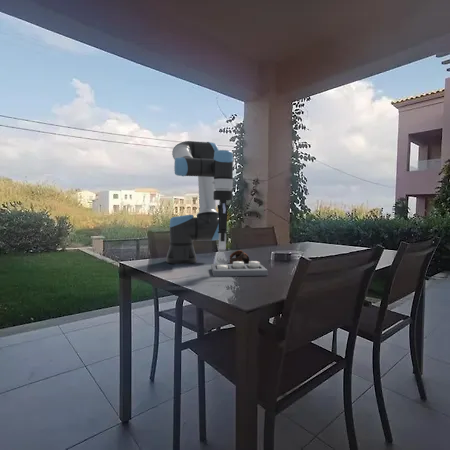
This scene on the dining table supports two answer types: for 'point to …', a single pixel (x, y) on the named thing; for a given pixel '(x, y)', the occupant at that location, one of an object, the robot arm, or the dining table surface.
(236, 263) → the button mid
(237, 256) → the brown looped knot
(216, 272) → the board
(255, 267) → the button
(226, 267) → the button
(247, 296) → the dining table surface
